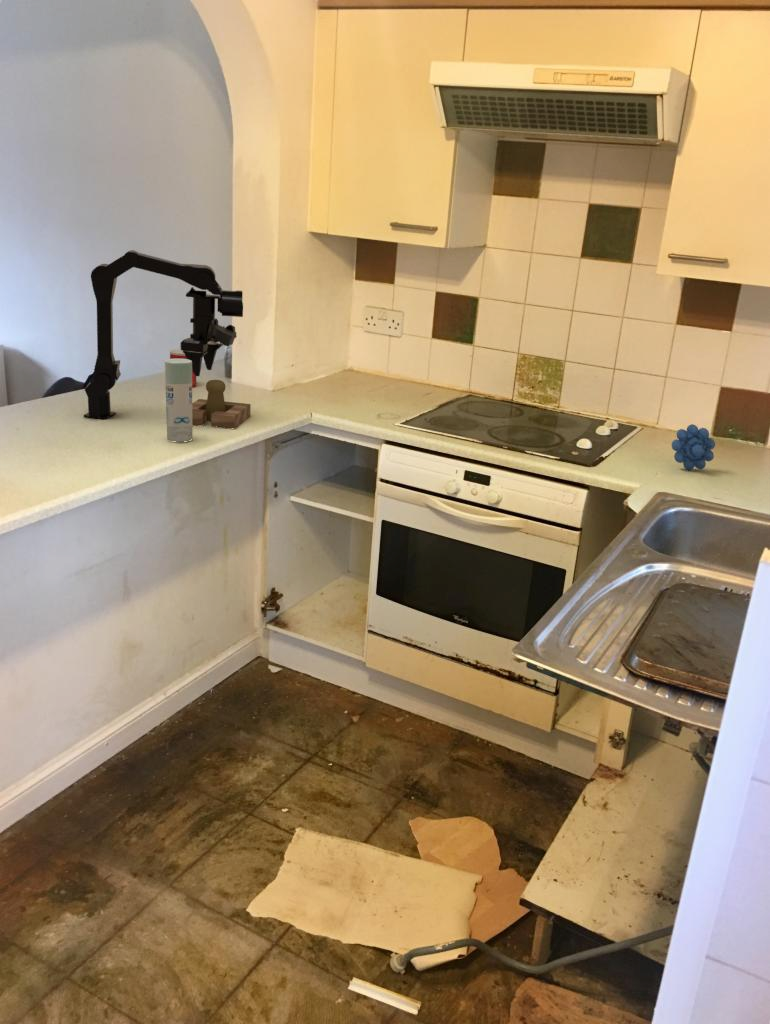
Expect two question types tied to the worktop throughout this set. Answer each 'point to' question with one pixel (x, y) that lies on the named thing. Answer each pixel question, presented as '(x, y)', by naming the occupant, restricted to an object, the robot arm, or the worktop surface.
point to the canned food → (179, 354)
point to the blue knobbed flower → (693, 447)
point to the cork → (215, 397)
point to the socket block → (220, 414)
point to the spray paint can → (178, 399)
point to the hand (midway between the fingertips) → (203, 373)
